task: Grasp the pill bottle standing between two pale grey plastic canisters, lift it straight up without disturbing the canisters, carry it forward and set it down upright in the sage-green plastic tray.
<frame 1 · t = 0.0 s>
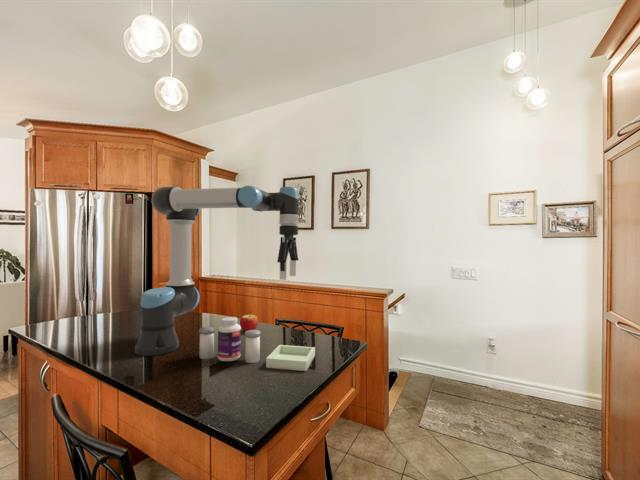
hand: (288, 277, 125), 28 cm above the counter, fingers open, 13 cm apart
apple: (248, 331, 145), on the counter
pill bottle: (229, 359, 111), on the counter
canister 1: (206, 356, 113), on the counter
canister 2: (252, 360, 110), on the counter
tray: (291, 361, 109), on the counter
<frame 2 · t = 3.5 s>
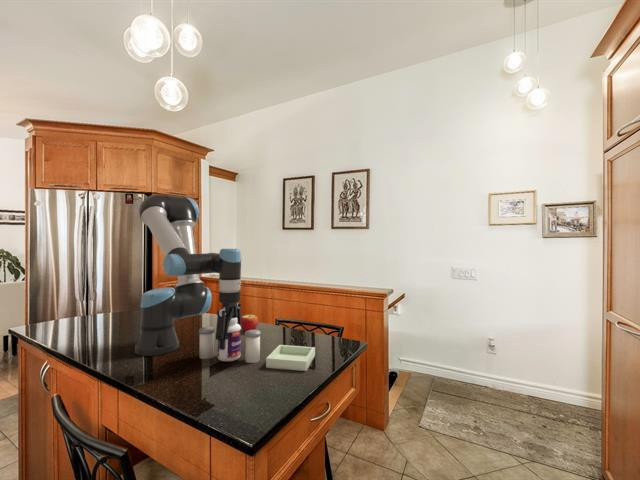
hand: (229, 353, 111), 2 cm above the counter, fingers closed on pill bottle, 8 cm apart
pill bottle: (229, 358, 111), on the counter, touching gripper
everything else where it was.
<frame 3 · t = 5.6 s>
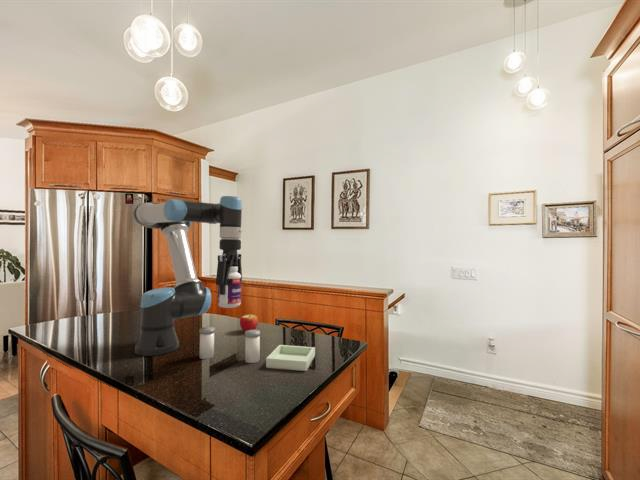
hand: (229, 301, 112), 21 cm above the counter, fingers closed on pill bottle, 8 cm apart
pill bottle: (229, 306, 112), point 19 cm above the counter, touching gripper
everything else where it was.
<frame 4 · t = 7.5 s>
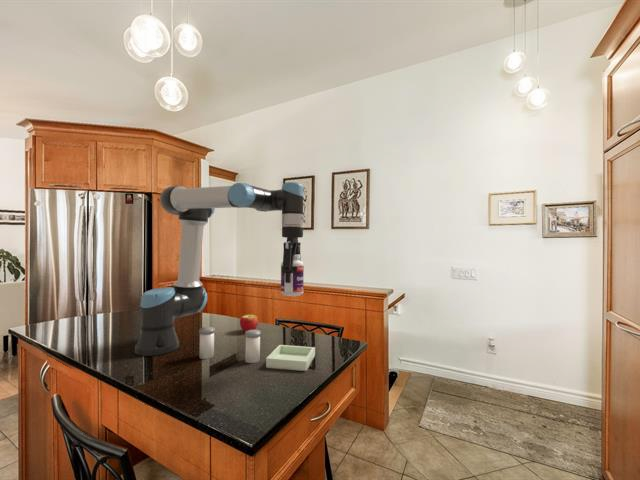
hand: (292, 290, 109), 25 cm above the counter, fingers closed on pill bottle, 8 cm apart
pill bottle: (292, 295, 109), point 23 cm above the counter, touching gripper
everything else where it was.
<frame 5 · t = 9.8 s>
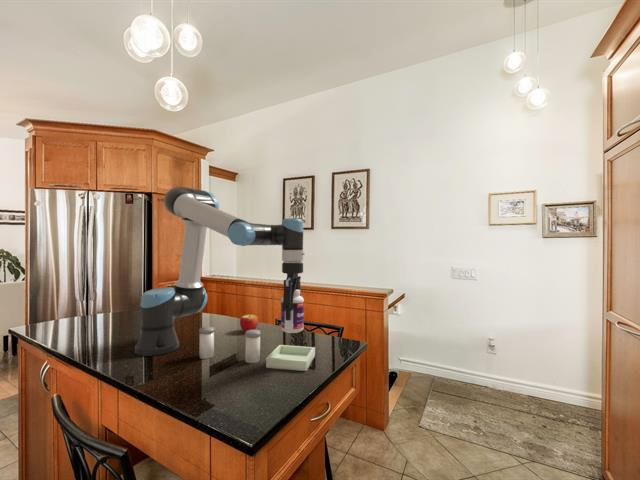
hand: (292, 325, 109), 13 cm above the counter, fingers closed on pill bottle, 8 cm apart
pill bottle: (292, 331, 109), point 11 cm above the counter, touching gripper
everything else where it was.
when the fingers open (4 cm above the counter, at t = 11.9 s): pill bottle drops 2 cm, resting on tray.
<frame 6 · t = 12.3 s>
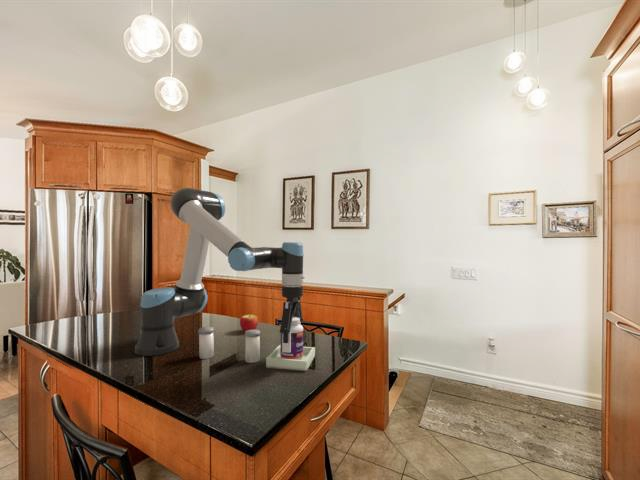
hand: (292, 345, 109), 6 cm above the counter, fingers open, 13 cm apart
pill bottle: (291, 359, 109), resting on tray
everything else where it was.
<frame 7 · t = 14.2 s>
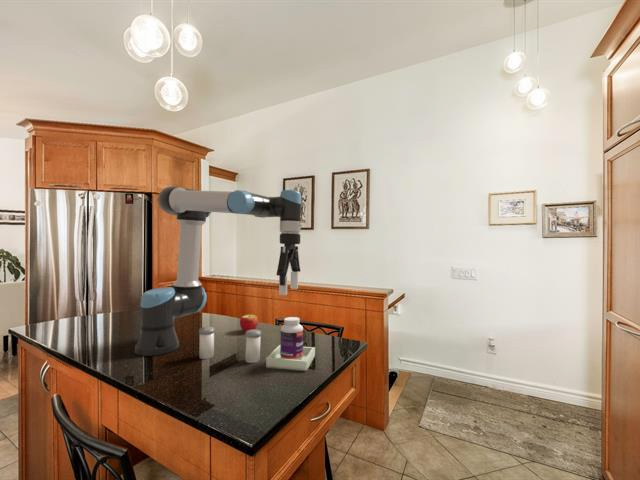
hand: (288, 291, 111), 24 cm above the counter, fingers open, 13 cm apart
nothing on the counter moved.
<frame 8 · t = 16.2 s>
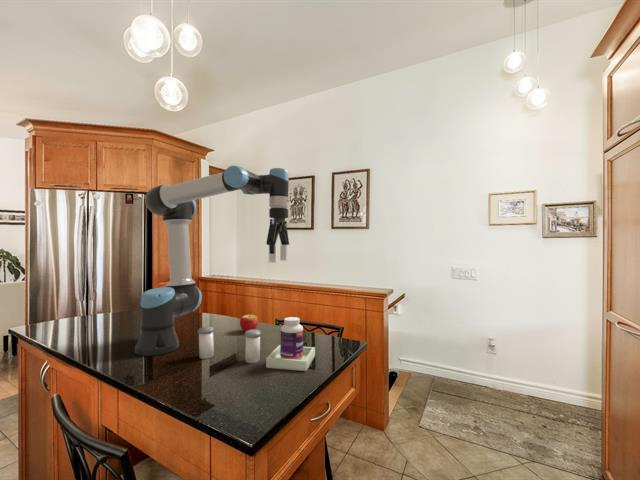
hand: (278, 261, 122), 35 cm above the counter, fingers open, 13 cm apart
nothing on the counter moved.
at the end: pill bottle inside the target area on the tray (0.3 cm from its centre), point 0.4 cm above the tray's base; pill bottle tilted 0°; canister 2 moved 0.1 cm from its start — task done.
